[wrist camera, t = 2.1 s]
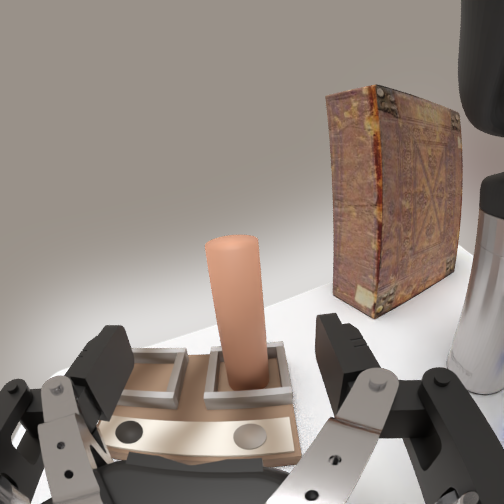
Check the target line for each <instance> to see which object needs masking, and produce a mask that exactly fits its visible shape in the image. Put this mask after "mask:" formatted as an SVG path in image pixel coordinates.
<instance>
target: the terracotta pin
mask: <svg viewBox="0 0 504 504" xmlns="http://www.w3.org/2000/svg"><path fill="white" fill-rule="evenodd" d="M205 250H206V256H207V263H208V270H209V277H210V283H211V289H212V295H213V301H214V307H215V313H216V319H217V325H218V330H219V336H220V341H221V346H222V352H223V357H224V362H225V367H226V372H227V377H228V382H229V386H230V387H231V388H232V389H233V390H234V391H245V390H258V389H264V388H265V387H266V386H267V385H268V383H269V368H268V355H267V342H266V330H265V317H264V306H263V293H262V282H261V268H260V258H259V245H258V239H257V238H256V237H254V236H250V235H229V236H223V237H219V238H216V239H213V240H210V241H209V242H207V243H206V244H205Z"/></svg>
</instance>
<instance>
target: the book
mask: <svg viewBox="0 0 504 504" xmlns="http://www.w3.org/2000/svg"><path fill="white" fill-rule="evenodd" d="M326 106H327V115H328V126H329V138H330V153H331V168H332V188H333V189H332V190H333V224H334V227H333V228H334V263H333V266H334V267H333V295H335V296H336V297H338V298H340V299H341V300H343V301H345V302H347V303H348V304H350V305H352V306H353V307H355V308H357V309H359V310H360V311H362V312H364V313H365V314H367V315H369V316H371V317H372V318H374V319H375V318H377V317H379V316H381V315H383V314H385V313H387V312H388V311H390V310H392V309H394V308H396V307H397V306H399V305H401V304H403V303H404V302H406V301H408V300H410V299H411V298H413V297H415V296H416V295H418V294H420V293H421V292H423V291H425V290H426V289H428V288H429V287H431V286H433V285H434V284H436V283H437V282H439V281H441V280H442V279H444V278H445V277H447V276H448V275H450V274H451V273H453V272H454V268H455V262H456V256H457V248H458V240H459V231H460V220H461V206H462V140H461V126H460V115H459V113H458V112H456V111H453V110H451V109H449V108H446V107H444V106H441V105H438V104H436V103H433V102H431V101H428V100H425V99H422V98H419V97H416V96H414V95H411V94H407V93H404V92H401V91H398V90H394V89H391V88H388V87H384V86H380V85H371V86H366V87H361V88H357V89H352V90H347V91H343V92H339V93H335V94H331V95H327V96H326Z"/></svg>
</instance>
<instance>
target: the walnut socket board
mask: <svg viewBox="0 0 504 504" xmlns="http://www.w3.org/2000/svg"><path fill="white" fill-rule="evenodd" d="M131 349H132V351H133V354H134V368H133V370H132V372H131V374H130V377H129V379H128V381H127V383H126V385H125V388H124V390H123V392H122V394H121V397H120V399H119V401H118V403H117V406H116V408H115V410H114V412H113V415H112V417H111V419H110V422H108V421H102V420H99V422H98V424H97V426H98V427H99V429H100V431H101V434H102V437H103V439H104V442H105V444H106V446H107V449H108V451H109V453H110V456H111V458H114V459H119V460H127V456H128V453H129V452H135V453H142V454H149V455H157V456H161V457H164V458H167V459H170V460H173V461H177V462H180V463H183V464H187V465H198V464H204V463H210V462H215V461H220V460H225V459H250V458H262V460H263V466H265V467H277V466H286V465H295V464H297V463H298V462H299V461H300V459H301V456H302V455H301V449H300V443H299V438H298V432H297V426H296V420H295V415H294V409H293V392H292V386H291V381H290V376H289V370H288V365H287V360H286V355H285V349H284V344H283V341H280V342H270V343H267V355H268V368H269V383H268V385H267V386H266V387H265V388H264V389H258V390H245V391H234V390H233V389H232V388H231V387H230V386H229V382H228V377H227V372H226V367H225V362H224V357H223V352H222V346H218V347H211V352H210V354H206V355H188V354H187V350H186V348H131Z"/></svg>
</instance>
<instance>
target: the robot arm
mask: <svg viewBox="0 0 504 504" xmlns="http://www.w3.org/2000/svg"><path fill="white" fill-rule="evenodd" d="M460 29H461V30H460V42H459V58H458V81H459V93H460V98H461V103H462V107H463V109H464V111H465V114H466V116H467V118H468V119H469V121H470V122H471V123H472V125H473V126H474V127H476V128H477V129H479V130H480V131H483V132H485V133H487V134H490V135H494V136H500V137H504V0H461V28H460ZM315 354H316V360H317V363H318V366H319V369H320V372H321V375H322V379H323V382H324V385H325V388H326V391H327V394H328V397H329V400H330V404H331V407H332V410H333V413H334V418H333V417H330V418H329V419H328V420H327V422H326V423H325V425H324V426H323V428H322V429H321V431H320V432H319V434H318V435H317V437H316V438H315V440H314V441H313V443H312V444H311V445H310V447H309V448H308V450H307V451H306V453H305V454H304V455H303V457H302V458H301V459H300V461H299V462H298V463H297V465H296V466H295V467H294V469H293V470H292V471H291V473H288V472H286V471H283V470H280V469H276V468H271V467H265V466H263V460H262V458H250V459H225V460H220V461H215V462H210V463H204V464H198V465H187V464H183V463H180V462H177V461H173V460H170V459H167V458H164V457H161V456H157V455H149V454H142V453H135V452H129V453H128V456H127V460H122V461H116V462H113V460H112V458H111V456H110V453H109V451H108V449H107V446H106V444H105V442H104V439H103V437H102V434H101V431H100V429H99V427H98V426H97V422H98V420H102V421H108V422H110V419H111V417H112V415H113V412H114V410H115V408H116V406H117V403H118V401H119V399H120V397H121V394H122V392H123V390H124V388H125V385H126V383H127V381H128V379H129V377H130V374H131V372H132V370H133V368H134V354H133V351H132V349H131V346H130V343H129V340H128V337H127V334H126V331H125V329H124V327H123V326H120V325H106V326H105V327H104V328H103V330H102V331H101V332H100V333H99V335H98V336H96V337H95V338H93V339H92V340H91V341H89V342H88V343H87V345H86V346H85V347H84V349H83V351H81V353H80V354H79V355H78V356H79V357H77V358H76V360H75V361H74V363H73V364H72V365H71V367H70V368H69V370H68V371H67V372H66V374H65V375H64V376H55V377H52V378H50V379H49V380H47V381H46V382H45V383H44V384H43V386H42V388H41V389H29V387H28V386H27V384H26V382H25V381H24V380H22V379H14V380H12V381H10V382H8V383H7V384H6V385H5V386H4V387H3V388H2V390H1V391H0V504H31V501H32V499H33V496H34V493H35V490H36V487H37V485H38V482H39V479H40V477H41V474H42V472H43V469H44V468H45V472H46V476H47V481H48V484H49V488H50V492H51V496H52V498H50V499H48V500H46V501H45V502H43V503H41V504H345V503H346V502H347V500H348V498H349V496H350V495H351V493H352V491H353V489H354V488H355V486H356V484H357V482H358V480H359V478H360V477H361V475H362V473H363V471H364V469H365V467H366V465H367V463H368V461H369V459H370V457H371V455H372V452H373V450H374V448H375V446H376V444H377V441H378V439H379V438H403V441H404V444H405V446H406V449H407V452H408V454H409V457H410V460H411V462H412V465H413V468H414V471H415V474H416V476H417V479H418V482H419V485H420V488H421V491H422V494H423V497H424V500H425V503H426V504H504V449H503V447H502V445H501V443H500V442H499V440H498V438H497V436H496V435H495V433H494V431H493V430H492V428H491V426H490V425H489V423H488V422H487V420H486V418H485V417H484V415H483V414H482V412H481V410H480V409H479V407H478V406H477V404H476V403H475V401H474V400H473V398H472V397H471V395H470V394H469V392H468V391H467V390H469V391H471V392H475V393H479V394H492V393H495V392H498V391H500V390H501V389H503V388H504V172H502V173H499V174H495V175H491V176H488V177H486V178H485V179H484V180H483V181H482V184H481V188H480V203H479V219H478V228H477V237H476V245H475V252H474V258H473V264H472V269H471V274H470V279H469V284H468V289H467V293H466V297H465V301H464V305H463V309H462V313H461V317H460V320H459V324H458V327H457V330H456V334H455V337H454V340H453V343H452V346H451V349H450V352H449V355H448V358H447V368H448V369H446V368H440V367H438V368H432V369H429V370H428V371H426V372H425V373H424V375H423V377H422V380H398V378H397V376H396V375H395V374H394V373H393V372H391V371H389V370H387V369H384V368H381V367H380V365H379V364H378V362H377V360H376V358H375V357H374V355H373V353H372V352H371V350H370V348H369V346H367V343H366V341H365V340H364V339H363V336H362V335H361V333H360V331H359V330H358V329H357V328H355V327H354V326H353V325H351V324H350V323H347V324H342V323H341V321H340V319H339V318H338V316H337V314H336V313H330V314H322V315H317V318H316V338H315ZM19 421H20V423H21V424H22V425H23V427H24V428H25V429H26V432H25V434H24V436H23V437H22V439H21V441H20V443H19V445H18V447H17V449H15V448H14V446H13V445H12V442H11V435H12V433H13V431H14V429H15V428H16V426H17V424H18V422H19Z"/></svg>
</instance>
